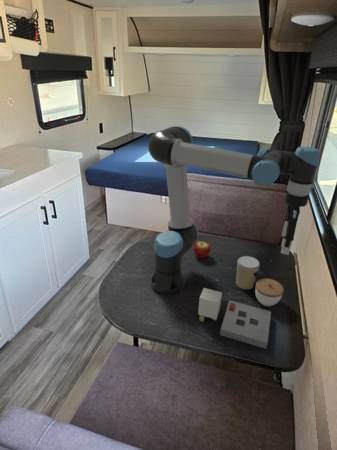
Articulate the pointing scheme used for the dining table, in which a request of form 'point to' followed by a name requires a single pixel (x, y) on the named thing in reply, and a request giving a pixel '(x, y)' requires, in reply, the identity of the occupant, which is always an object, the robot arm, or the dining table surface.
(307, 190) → the robot arm
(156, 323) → the dining table surface
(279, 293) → the lidded jar
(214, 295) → the plug
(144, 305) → the dining table surface
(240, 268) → the coffee cup
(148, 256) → the dining table surface
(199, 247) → the apple
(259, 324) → the socket
